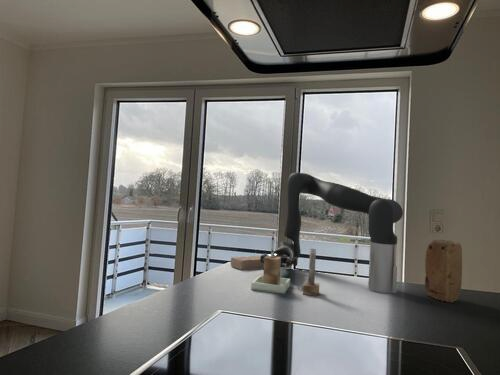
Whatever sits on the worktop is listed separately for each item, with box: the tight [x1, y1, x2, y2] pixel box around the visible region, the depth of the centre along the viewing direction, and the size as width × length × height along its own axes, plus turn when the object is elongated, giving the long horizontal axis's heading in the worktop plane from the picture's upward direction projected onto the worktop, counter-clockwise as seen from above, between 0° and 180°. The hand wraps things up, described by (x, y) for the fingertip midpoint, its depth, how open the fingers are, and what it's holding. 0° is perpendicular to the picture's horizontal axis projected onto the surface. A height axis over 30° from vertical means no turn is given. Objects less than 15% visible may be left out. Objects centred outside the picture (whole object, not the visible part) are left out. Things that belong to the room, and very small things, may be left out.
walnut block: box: [262, 255, 282, 285], centre depth 126 cm, size 5×5×10 cm
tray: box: [250, 275, 291, 295], centre depth 126 cm, size 12×12×2 cm
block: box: [424, 239, 463, 303], centre depth 123 cm, size 11×8×20 cm
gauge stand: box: [302, 248, 320, 297], centre depth 122 cm, size 5×5×15 cm
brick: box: [230, 255, 264, 271], centre depth 160 cm, size 17×8×5 cm, turn 128°
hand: (275, 263), depth 133 cm, fingers open, 8 cm apart
